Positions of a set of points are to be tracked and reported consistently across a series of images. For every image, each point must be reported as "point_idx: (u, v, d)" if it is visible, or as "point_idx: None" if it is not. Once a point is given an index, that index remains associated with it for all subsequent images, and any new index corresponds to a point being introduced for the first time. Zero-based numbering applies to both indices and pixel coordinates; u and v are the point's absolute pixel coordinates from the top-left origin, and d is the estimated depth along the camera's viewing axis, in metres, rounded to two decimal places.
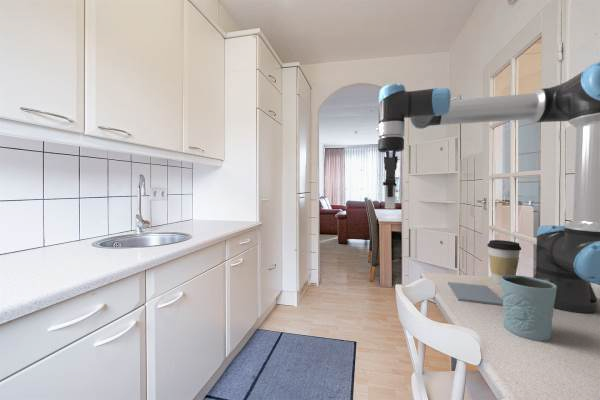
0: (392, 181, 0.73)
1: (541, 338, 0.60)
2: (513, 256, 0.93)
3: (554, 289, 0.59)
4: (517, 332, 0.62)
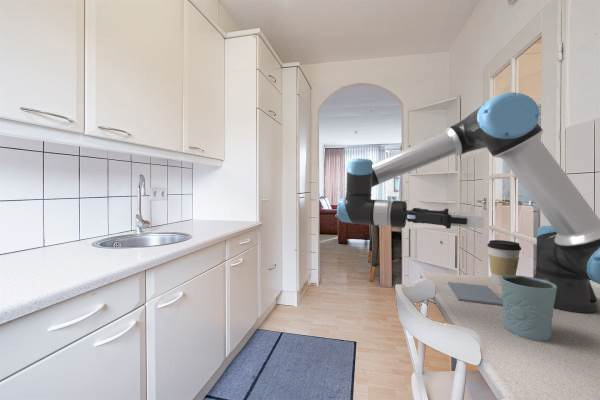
0: (446, 218, 0.62)
1: (541, 338, 0.60)
2: (513, 256, 0.93)
3: (554, 289, 0.59)
4: (517, 332, 0.62)
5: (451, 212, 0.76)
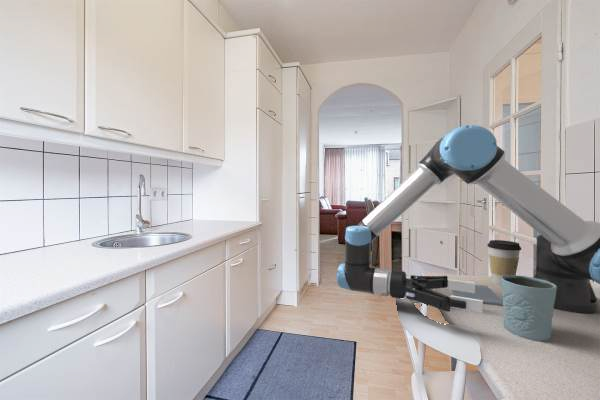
0: (445, 303, 0.63)
1: (541, 338, 0.60)
2: (513, 256, 0.93)
3: (554, 289, 0.59)
4: (517, 332, 0.62)
5: (450, 281, 0.77)
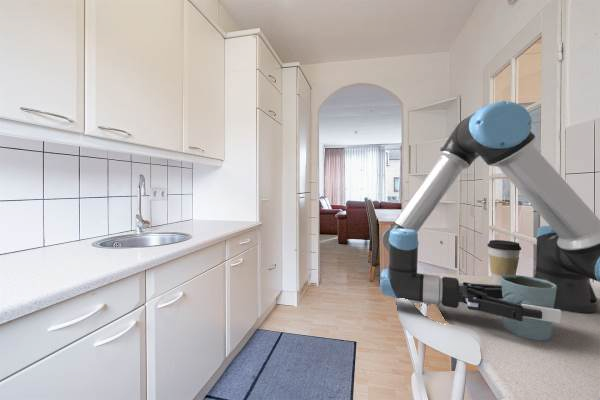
0: (519, 312, 0.58)
1: (541, 338, 0.60)
2: (513, 256, 0.93)
3: (554, 289, 0.59)
4: (517, 332, 0.62)
5: None
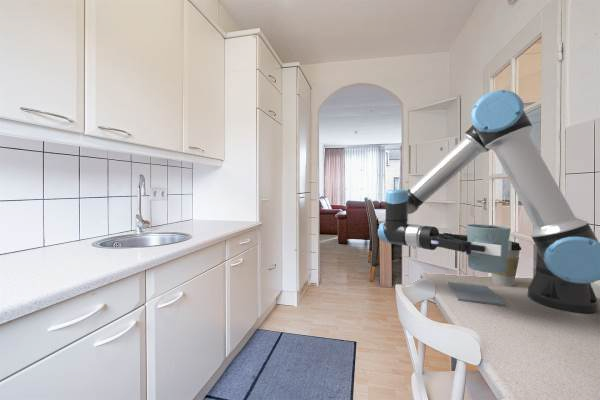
0: (463, 245, 0.73)
1: (489, 270, 0.72)
2: (513, 256, 0.93)
3: (501, 230, 0.71)
4: (472, 266, 0.75)
5: None
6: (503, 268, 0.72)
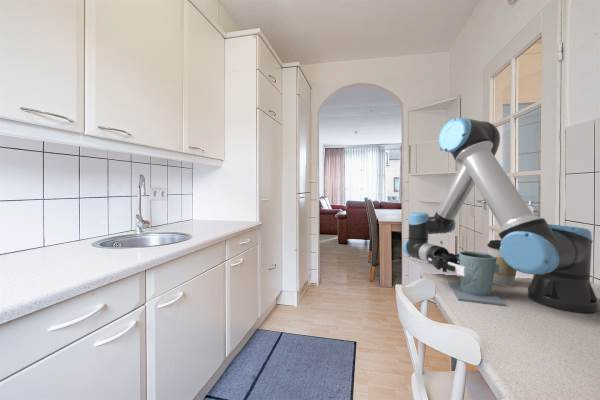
0: (437, 264, 0.89)
1: (471, 292, 0.85)
2: None
3: (481, 259, 0.83)
4: None
5: None
6: (485, 292, 0.84)
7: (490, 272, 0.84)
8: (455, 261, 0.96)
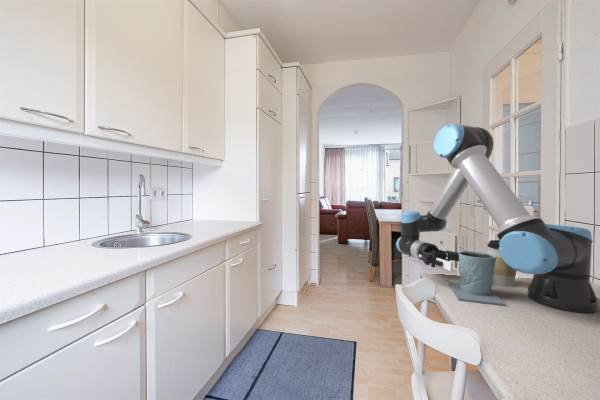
0: (426, 259, 0.94)
1: (471, 292, 0.85)
2: None
3: (481, 259, 0.83)
4: (460, 287, 0.89)
5: None
6: (485, 292, 0.84)
7: (490, 272, 0.84)
8: (444, 257, 1.01)
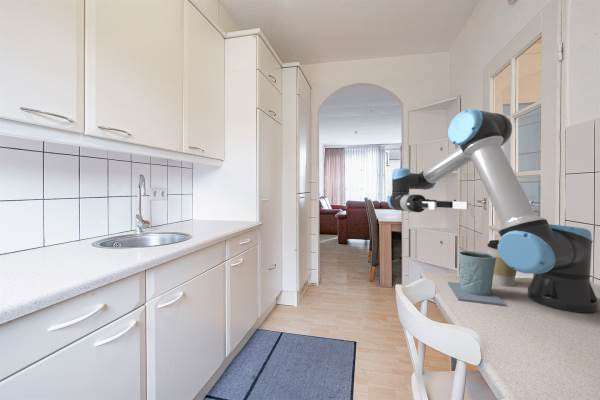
0: (413, 203, 1.01)
1: (471, 292, 0.85)
2: None
3: (481, 259, 0.83)
4: (460, 287, 0.89)
5: (454, 202, 1.03)
6: (485, 292, 0.84)
7: (490, 272, 0.84)
8: None
